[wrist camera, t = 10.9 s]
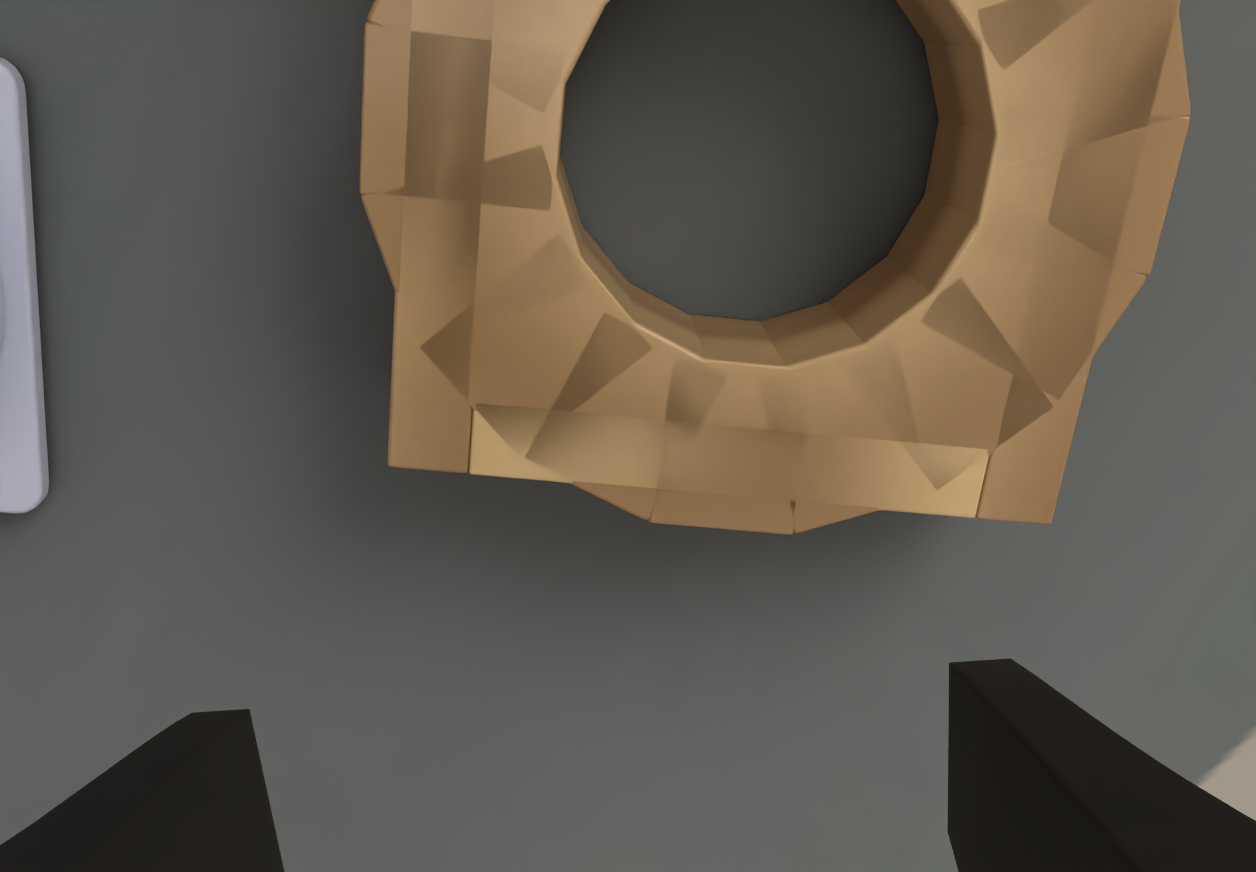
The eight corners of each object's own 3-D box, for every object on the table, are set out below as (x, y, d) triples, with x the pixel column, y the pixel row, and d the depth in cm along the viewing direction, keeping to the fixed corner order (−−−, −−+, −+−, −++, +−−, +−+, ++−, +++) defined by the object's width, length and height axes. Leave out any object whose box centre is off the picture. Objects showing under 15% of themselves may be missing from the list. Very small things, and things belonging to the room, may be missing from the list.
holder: (379, 436, 22) (348, 498, 19) (409, -319, 18) (376, -382, 15) (1015, 493, 23) (1077, 560, 20) (1182, -215, 19) (1289, -257, 16)
